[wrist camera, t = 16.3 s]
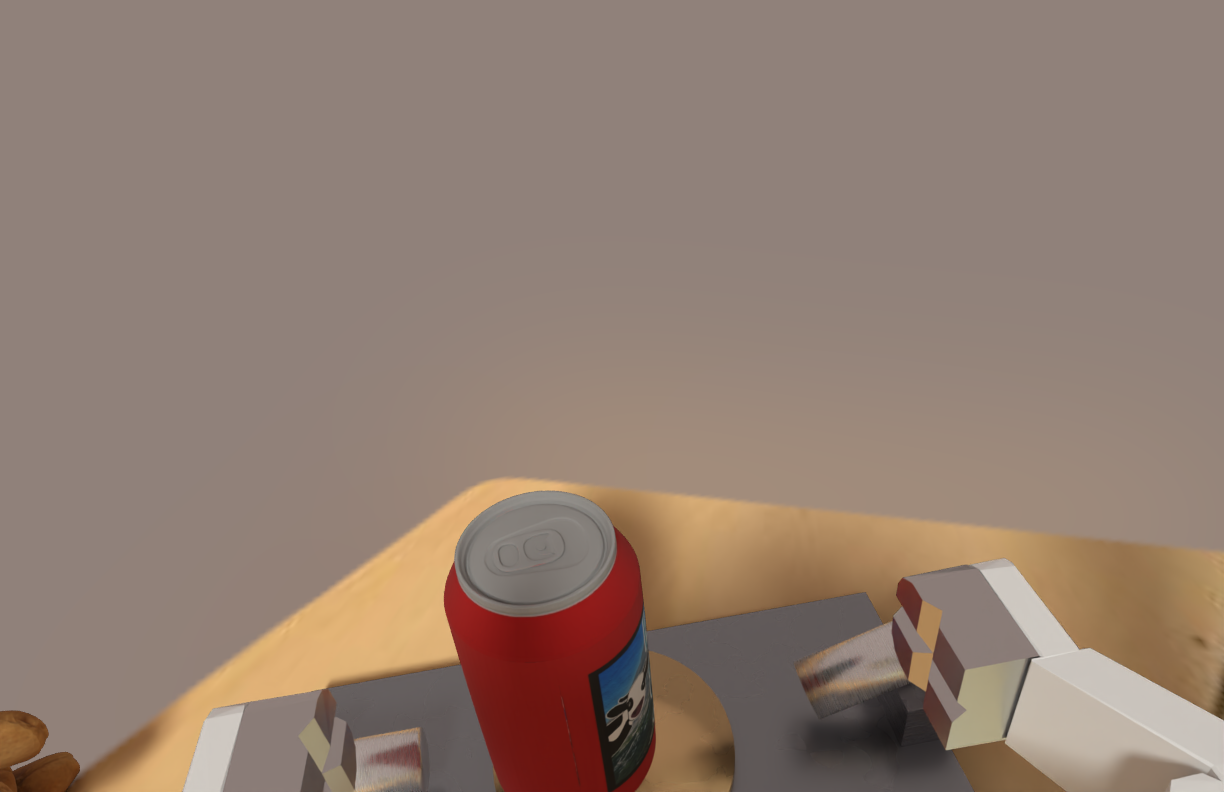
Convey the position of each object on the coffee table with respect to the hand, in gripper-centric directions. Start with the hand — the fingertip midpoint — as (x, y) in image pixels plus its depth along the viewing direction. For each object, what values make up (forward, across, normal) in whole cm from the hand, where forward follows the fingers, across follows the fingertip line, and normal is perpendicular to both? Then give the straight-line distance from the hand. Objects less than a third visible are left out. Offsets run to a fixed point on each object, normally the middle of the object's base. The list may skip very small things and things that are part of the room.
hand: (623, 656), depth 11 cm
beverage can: (+12, +2, +21) cm, 24 cm away
